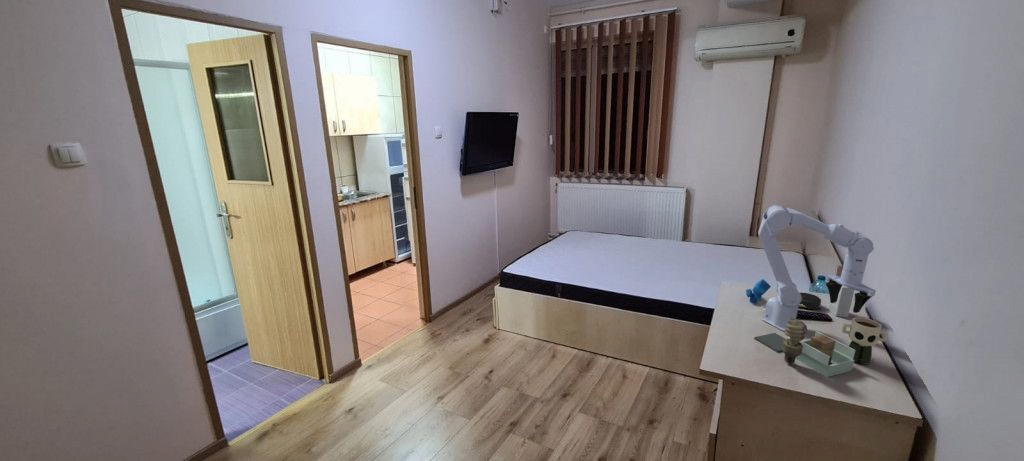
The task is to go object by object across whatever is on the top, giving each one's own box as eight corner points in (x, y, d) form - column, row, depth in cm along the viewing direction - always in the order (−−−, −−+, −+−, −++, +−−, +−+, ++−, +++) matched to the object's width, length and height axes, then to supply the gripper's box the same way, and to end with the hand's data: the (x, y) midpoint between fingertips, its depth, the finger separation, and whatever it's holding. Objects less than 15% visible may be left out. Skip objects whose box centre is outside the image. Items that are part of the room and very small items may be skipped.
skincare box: (848, 317, 161) (855, 288, 158) (835, 316, 162) (842, 287, 159) (840, 310, 167) (846, 281, 163) (827, 309, 168) (834, 280, 164)
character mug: (836, 359, 135) (845, 322, 131) (835, 349, 140) (843, 313, 137) (881, 370, 129) (892, 332, 125) (878, 359, 135) (888, 322, 131)
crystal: (742, 286, 172) (754, 272, 179) (741, 304, 176) (752, 290, 183) (763, 292, 167) (773, 277, 174) (761, 310, 170) (772, 295, 177)
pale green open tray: (785, 353, 138) (789, 335, 136) (811, 347, 141) (815, 329, 140) (826, 377, 126) (830, 357, 124) (852, 370, 129) (857, 351, 128)
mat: (754, 338, 147) (754, 337, 147) (774, 334, 150) (774, 332, 150) (777, 352, 139) (777, 350, 139) (798, 347, 142) (798, 345, 141)
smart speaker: (788, 300, 176) (790, 291, 175) (811, 301, 175) (813, 292, 174) (800, 310, 167) (802, 301, 166) (824, 311, 166) (826, 301, 165)
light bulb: (799, 371, 129) (808, 326, 125) (778, 365, 132) (786, 321, 128) (798, 361, 134) (808, 318, 129) (778, 356, 136) (786, 313, 132)
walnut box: (806, 359, 135) (811, 337, 133) (817, 356, 136) (823, 334, 134) (818, 366, 131) (823, 343, 129) (830, 363, 133) (835, 340, 130)
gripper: (885, 276, 138) (875, 314, 141) (839, 261, 151) (831, 296, 155) (870, 279, 135) (860, 318, 139) (825, 263, 149) (817, 299, 152)
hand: (844, 307), depth 147 cm, fingers open, 7 cm apart
